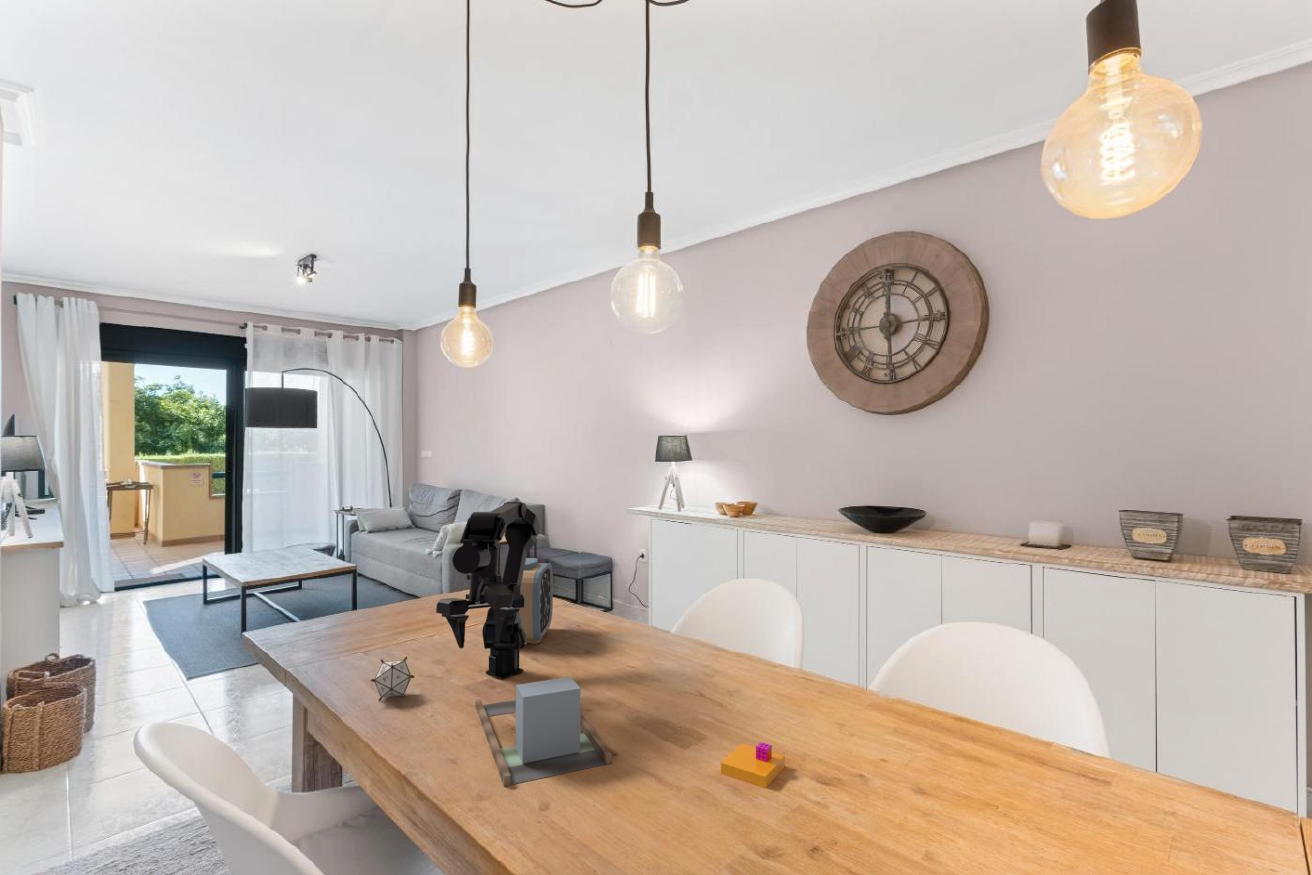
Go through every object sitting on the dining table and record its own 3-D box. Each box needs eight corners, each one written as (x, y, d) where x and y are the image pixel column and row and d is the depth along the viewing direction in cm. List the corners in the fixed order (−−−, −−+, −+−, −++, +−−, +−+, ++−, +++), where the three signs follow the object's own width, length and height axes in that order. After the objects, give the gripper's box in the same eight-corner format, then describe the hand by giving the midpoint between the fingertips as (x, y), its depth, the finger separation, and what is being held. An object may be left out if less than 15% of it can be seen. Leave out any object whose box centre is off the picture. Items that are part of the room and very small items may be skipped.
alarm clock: (538, 649, 163) (539, 567, 164) (503, 649, 164) (504, 567, 164) (552, 627, 184) (553, 554, 184) (521, 627, 184) (521, 554, 185)
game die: (396, 717, 130) (394, 690, 124) (363, 700, 131) (359, 672, 126) (424, 684, 137) (423, 656, 131) (392, 667, 139) (390, 640, 133)
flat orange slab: (765, 790, 96) (765, 763, 97) (720, 775, 101) (720, 749, 101) (785, 769, 103) (785, 743, 103) (741, 755, 108) (741, 731, 108)
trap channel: (475, 706, 127) (475, 698, 127) (560, 692, 134) (560, 685, 134) (503, 786, 97) (504, 776, 97) (611, 763, 104) (611, 754, 104)
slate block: (515, 747, 109) (516, 684, 109) (570, 737, 113) (570, 676, 113) (522, 763, 103) (523, 697, 103) (579, 751, 107) (580, 688, 107)
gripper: (467, 575, 121) (463, 657, 119) (542, 570, 135) (539, 644, 133) (437, 571, 128) (432, 649, 126) (510, 567, 142) (507, 637, 140)
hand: (480, 645), depth 131 cm, fingers open, 9 cm apart
